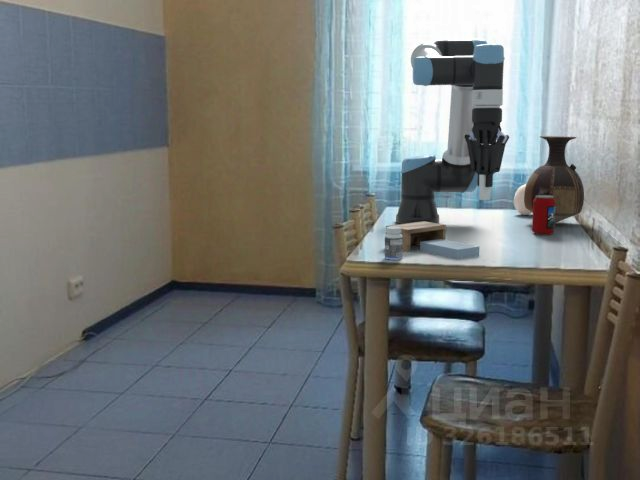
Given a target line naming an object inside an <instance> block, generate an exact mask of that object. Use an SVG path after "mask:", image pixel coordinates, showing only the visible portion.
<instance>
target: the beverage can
mask: <svg viewBox="0 0 640 480" xmlns="http://www.w3.org/2000/svg"><path fill="white" fill-rule="evenodd" d="M555 203H556V202H555V199H554V197H553V196H551V195H537V196H536V197H535V199H534V201H533V213H532V223H531V224H532V227H531V231H532V233H534V234H536V235H538V234H539V236H540V235H541V236H550V235H552V234H553V233H555V224H556V223H555Z"/></svg>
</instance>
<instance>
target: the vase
mask: <svg viewBox="0 0 640 480" xmlns="http://www.w3.org/2000/svg"><path fill="white" fill-rule="evenodd" d="M539 138H541V139H544V140H545V141H546V142H547V144H548V156H547V160H546V162H545V164H542V165H540V166H538V167H537V168H536V169H535V170H534V171H533V172H532V173H531V175H530V177H529V178H528V180H527V182H526V183H525V184H526V187H525V192H524V204H525V208H526V209H528V210H529V211H531V212H532V213H531V214H533V201H534V199H535V197H536V196H537V195H551V196H553V197H554V199H555V202H556V203H555V224H557V223H559V222H561V221H563V220H565V219H569V218H572V217H573V216H577V215H578V214H580V213H581V212H582V210H583V208H584V203H585V202H584V200H585V189H584V184H583V181H582V179H581V176H580V175H579V173H578V172H577V171H576V170H577V166H576V165H575V164H573V163H572V164H570V165H568V163H567V161H566V148H567V145H568V143H569V141H572V140H574V139H577V137H576V136H564V135H562V136H561V135H559V136H558V135H539Z"/></svg>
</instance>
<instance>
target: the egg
mask: <svg viewBox="0 0 640 480" xmlns="http://www.w3.org/2000/svg"><path fill="white" fill-rule="evenodd" d="M526 184H527V183H525V184H523V185H521V186H519V187H518V188H517V190H516V192H515V194H514V197H513V206H514V208H515V210H516V211H517V212H518V214H519V215H523V216H528V215H530V214H533V213H532V212H531V211H529V210H528V209H526V208H525V204H524V192H525V187H526Z"/></svg>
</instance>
